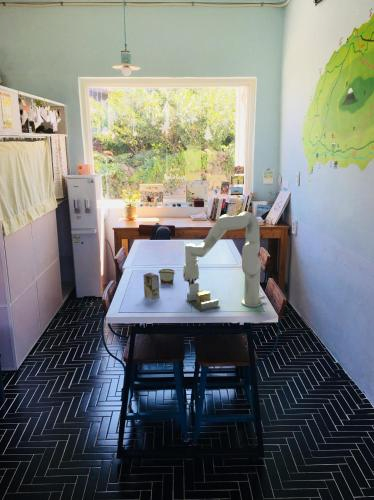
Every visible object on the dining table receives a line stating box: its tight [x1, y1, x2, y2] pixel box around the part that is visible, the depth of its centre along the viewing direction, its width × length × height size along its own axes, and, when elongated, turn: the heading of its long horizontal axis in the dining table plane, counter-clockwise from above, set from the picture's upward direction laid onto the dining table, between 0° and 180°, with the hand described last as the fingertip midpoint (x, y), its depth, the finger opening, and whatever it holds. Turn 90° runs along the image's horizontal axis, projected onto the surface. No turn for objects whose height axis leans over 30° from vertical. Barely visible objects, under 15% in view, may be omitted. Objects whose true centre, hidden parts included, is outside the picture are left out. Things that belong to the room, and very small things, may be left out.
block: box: [196, 290, 211, 305], centre depth 266 cm, size 8×4×7 cm, turn 118°
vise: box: [185, 298, 221, 313], centre depth 267 cm, size 14×20×5 cm
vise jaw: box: [186, 282, 205, 301], centre depth 274 cm, size 12×6×9 cm, turn 118°
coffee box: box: [142, 272, 160, 301], centre depth 278 cm, size 9×6×16 cm
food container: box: [158, 268, 176, 285], centre depth 306 cm, size 12×6×10 cm, turn 74°
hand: (191, 288), depth 279 cm, fingers closed
